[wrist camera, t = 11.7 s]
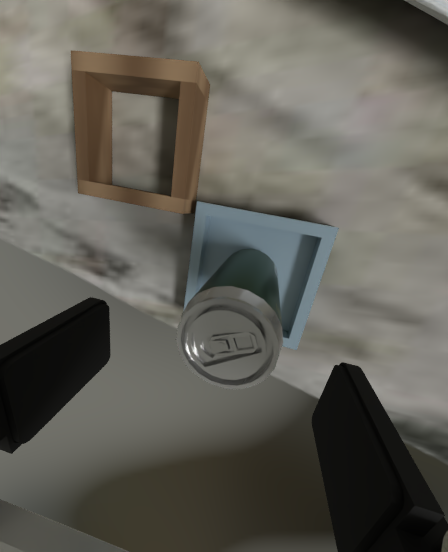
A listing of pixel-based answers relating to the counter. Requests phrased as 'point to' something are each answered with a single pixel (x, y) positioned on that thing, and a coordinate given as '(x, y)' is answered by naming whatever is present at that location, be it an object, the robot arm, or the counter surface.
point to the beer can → (234, 323)
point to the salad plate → (433, 8)
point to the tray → (273, 242)
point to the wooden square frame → (98, 122)
